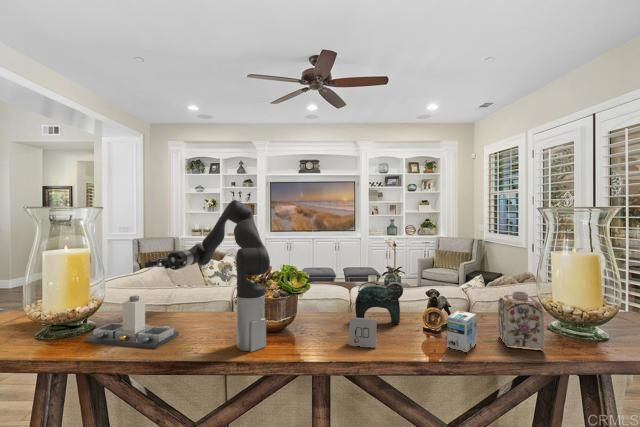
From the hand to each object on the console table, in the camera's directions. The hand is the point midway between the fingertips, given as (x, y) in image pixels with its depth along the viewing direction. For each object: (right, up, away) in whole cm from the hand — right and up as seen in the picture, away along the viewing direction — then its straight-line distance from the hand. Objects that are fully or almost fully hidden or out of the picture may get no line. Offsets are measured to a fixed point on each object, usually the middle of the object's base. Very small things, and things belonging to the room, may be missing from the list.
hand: (155, 265), depth 135 cm
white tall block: (-3, -23, -11) cm, 25 cm away
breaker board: (-3, -24, -11) cm, 27 cm away
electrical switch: (+78, -25, -15) cm, 84 cm away
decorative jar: (+133, -26, -13) cm, 137 cm away
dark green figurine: (+88, -25, +10) cm, 92 cm away
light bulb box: (+112, -25, -16) cm, 116 cm away
